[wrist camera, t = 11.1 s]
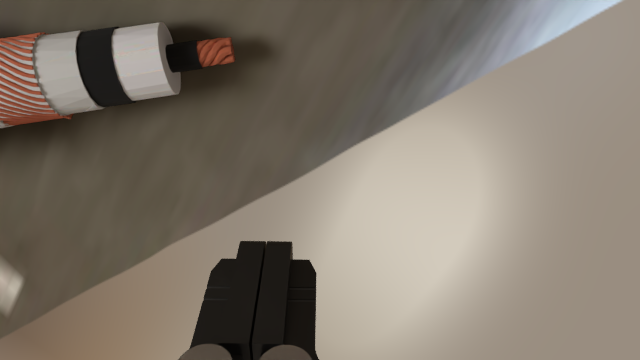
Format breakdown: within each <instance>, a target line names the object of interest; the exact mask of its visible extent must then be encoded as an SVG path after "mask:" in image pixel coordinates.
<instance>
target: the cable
mask: <svg viewBox="0 0 640 360" xmlns="http://www.w3.org/2000/svg"><path fill="white" fill-rule="evenodd" d="M234 61H235V56H234V48H233V45H232V40H231V37H229V38H216V39H212V40H211V39H208V40H203V41H197V40H195V41H189V42H182V43H176V44H173V40H172V37H171V34H170V32H169V30H168V28H167V26H166V25H165V24H164V23H163V22H159V23H152V24H145V25H138V26H131V27H124V28H119V27H112V28H105V29H98V30H91V31H86V30H79V31H72V32H65V33H58V34H46V33H45V32H43V33H34V34H28V35H20V36H17V37H8V38H1V39H0V128H4V127H10V126H15V125H20V124H27V123H33V122H40V121H47V120H53V119H60V118H67V119H71V118H72V116H73V114H74V113H80V112H86V111H93V110H99V109H104V108H106V107H109V106H116V105H122V104H129V103H135V102H136V101H138V100H143V99H150V98H156V97H163V96H170V95H177V94H179V92H180V90H181V74H180V72H182V71H189V70H196V69H202V68H203V67H206V66H214V65H217V64H227V63H231V62H234Z"/></svg>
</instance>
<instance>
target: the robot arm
mask: <svg viewBox="0 0 640 360" xmlns="http://www.w3.org/2000/svg"><path fill="white" fill-rule="evenodd" d="M292 255H293V253H292V242H275V241H274V242H273V241H271V242H270V241H268V242H267V245H266V242H265V241H241V242H240V245H239V249H238V254H237V258H236V259H221V260H220V262H219V263H218V264H217V265H216V266H215V267H214V269H213V270H212V271H211V273H210V277H209V281H208V284H207V289H206V292H205V295H204V301H203V303H202V306H201V310H200V314H199V317H198V321H197V325H196V328H195V332H194V336H193V339H192V343H191V346H190V348H189V350H187V351H186V352H185V353H184V354H183V355H182V356H181V357H180V358H179V359H178V360H319V359H318V357H317V355H316V351H315V320H316V319H315V317H316V315H315V314H316V272H315V270H314V268H313V266H312V264H311V262H310V261H309V260H293V256H292Z"/></svg>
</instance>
